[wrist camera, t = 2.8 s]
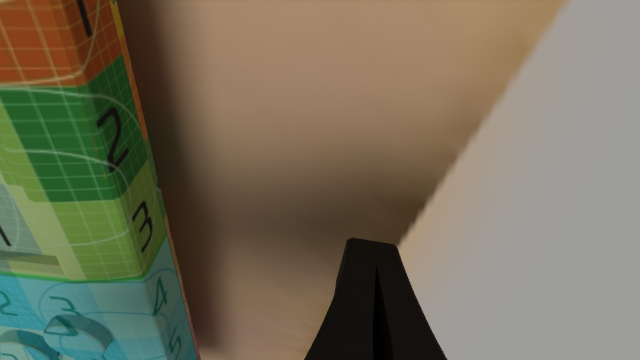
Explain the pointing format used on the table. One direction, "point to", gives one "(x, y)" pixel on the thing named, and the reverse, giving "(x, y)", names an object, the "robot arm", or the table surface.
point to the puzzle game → (81, 195)
